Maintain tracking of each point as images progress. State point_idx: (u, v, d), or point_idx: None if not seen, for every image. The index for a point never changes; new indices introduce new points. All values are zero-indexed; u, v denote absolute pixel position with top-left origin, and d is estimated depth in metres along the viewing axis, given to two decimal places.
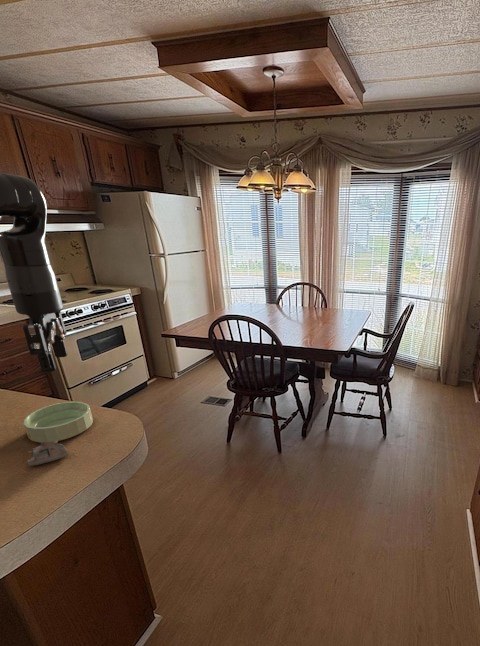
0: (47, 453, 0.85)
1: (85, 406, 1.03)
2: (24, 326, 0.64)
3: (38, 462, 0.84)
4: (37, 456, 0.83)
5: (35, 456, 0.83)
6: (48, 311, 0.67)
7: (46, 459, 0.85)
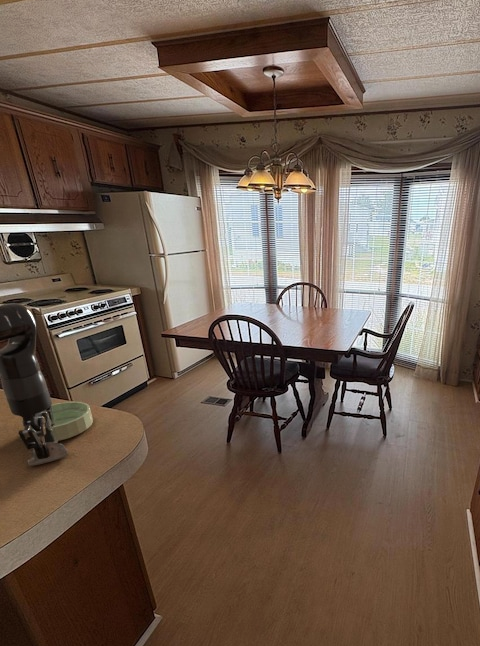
0: None
1: (85, 406, 1.03)
2: (19, 433, 0.76)
3: (38, 462, 0.84)
4: None
5: (35, 456, 0.83)
6: (38, 411, 0.79)
7: (46, 459, 0.85)
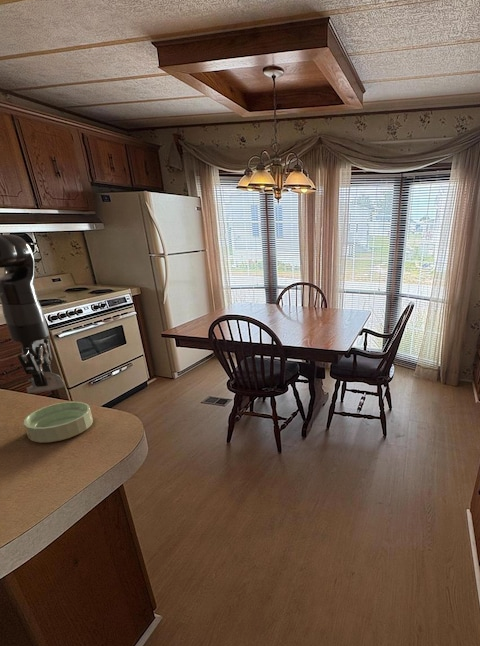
0: None
1: (85, 406, 1.03)
2: (19, 356, 0.82)
3: (36, 390, 0.90)
4: None
5: (33, 384, 0.89)
6: (36, 338, 0.85)
7: (43, 388, 0.91)
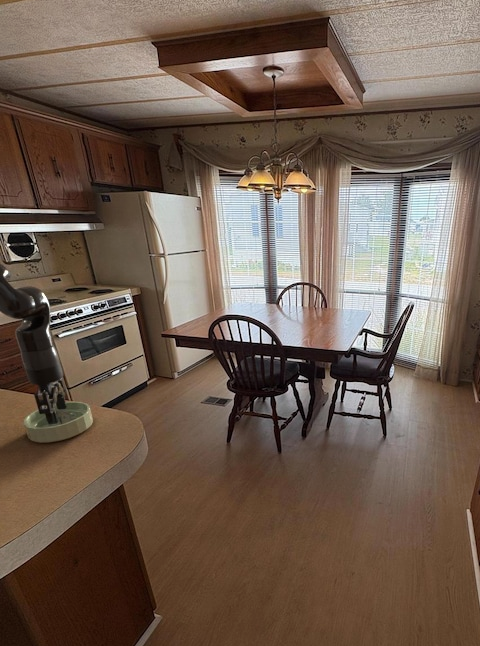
0: (60, 421, 0.97)
1: (85, 406, 1.03)
2: (35, 394, 0.88)
3: None
4: (51, 424, 0.96)
5: None
6: (52, 380, 0.91)
7: None
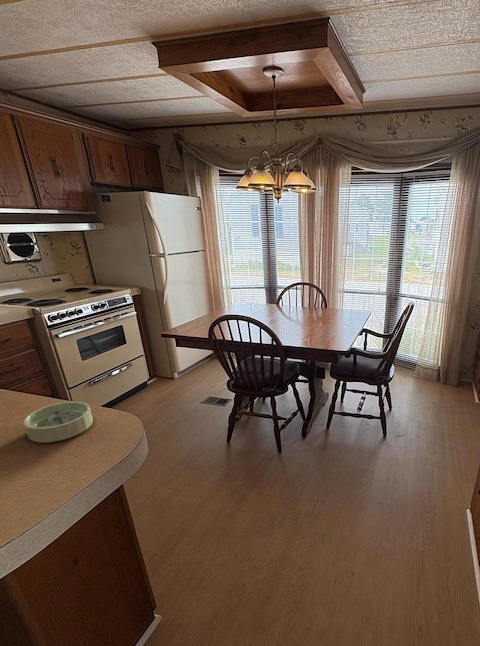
0: (60, 421, 0.97)
1: (85, 406, 1.03)
2: None
3: None
4: (51, 424, 0.96)
5: (49, 423, 0.95)
6: None
7: None
